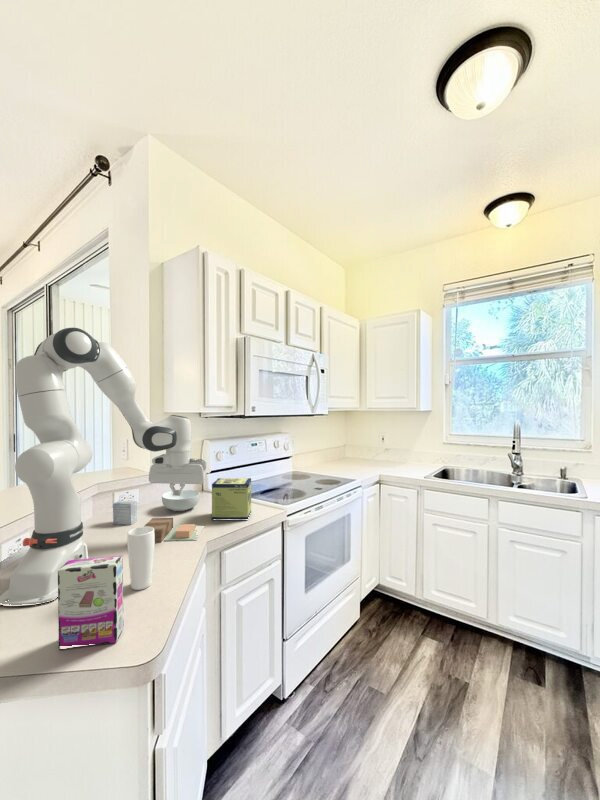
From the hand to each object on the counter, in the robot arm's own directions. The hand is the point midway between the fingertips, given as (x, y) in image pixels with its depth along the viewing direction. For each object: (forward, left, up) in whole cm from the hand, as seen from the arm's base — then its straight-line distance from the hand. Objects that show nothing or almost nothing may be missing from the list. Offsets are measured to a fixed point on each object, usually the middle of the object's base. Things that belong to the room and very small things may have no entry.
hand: (177, 495), depth 130 cm
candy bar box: (-57, +1, -15) cm, 59 cm away
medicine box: (+14, +25, -15) cm, 33 cm away
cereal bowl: (+31, +7, -15) cm, 36 cm away
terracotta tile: (-1, -3, -12) cm, 12 cm away
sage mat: (+1, -3, -15) cm, 15 cm away
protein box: (+19, -18, -15) cm, 30 cm away
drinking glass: (-36, -1, -15) cm, 39 cm away
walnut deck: (0, +8, -15) cm, 17 cm away
